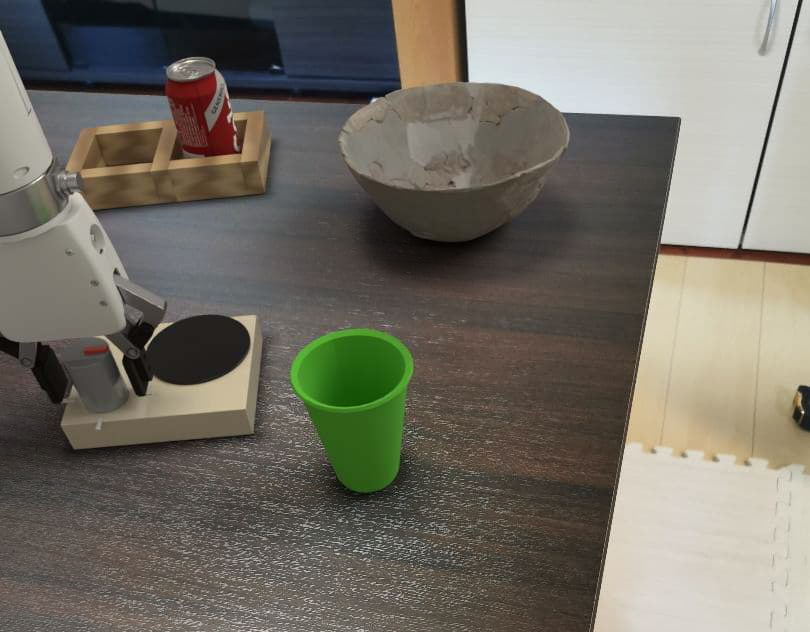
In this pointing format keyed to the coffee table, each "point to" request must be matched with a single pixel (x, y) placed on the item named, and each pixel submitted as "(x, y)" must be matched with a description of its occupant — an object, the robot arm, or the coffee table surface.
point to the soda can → (201, 109)
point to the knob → (95, 374)
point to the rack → (167, 164)
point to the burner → (198, 349)
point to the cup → (356, 402)
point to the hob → (172, 405)
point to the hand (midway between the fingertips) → (102, 388)
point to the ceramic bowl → (454, 155)
